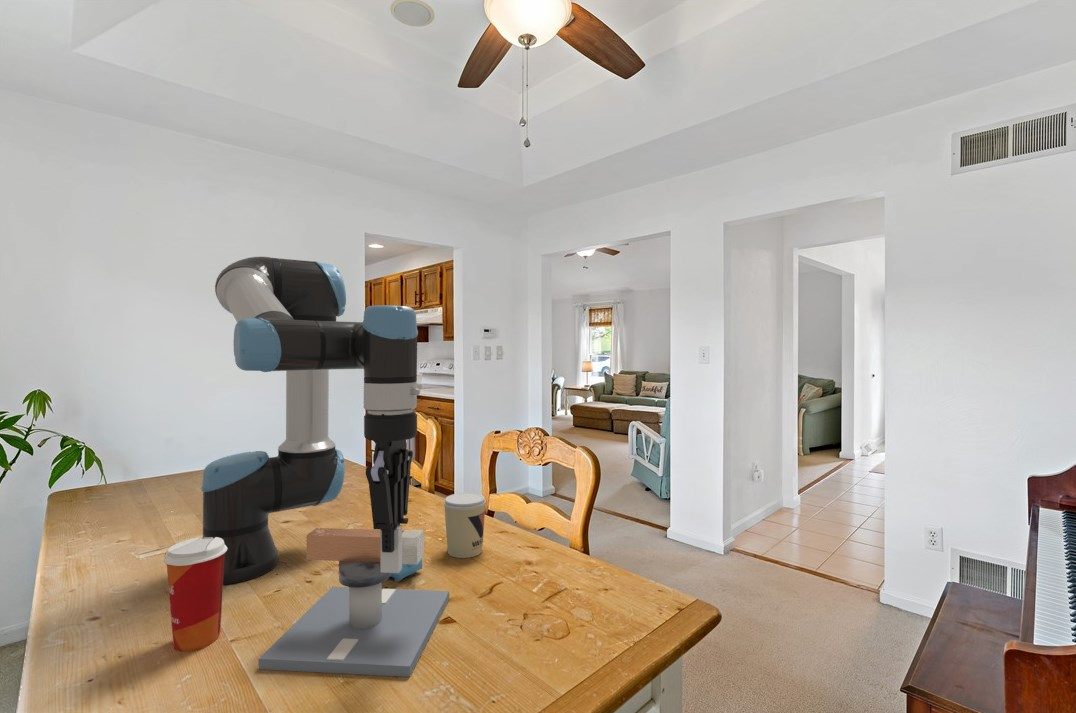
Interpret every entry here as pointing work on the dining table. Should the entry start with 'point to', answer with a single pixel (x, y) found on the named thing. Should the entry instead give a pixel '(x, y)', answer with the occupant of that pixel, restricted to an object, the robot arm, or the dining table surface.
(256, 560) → the robot arm
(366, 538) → the t handle
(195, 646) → the coffee cup
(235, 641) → the dining table surface
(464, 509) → the coffee cup
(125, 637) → the dining table surface
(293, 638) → the striped base plate
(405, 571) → the teapot
